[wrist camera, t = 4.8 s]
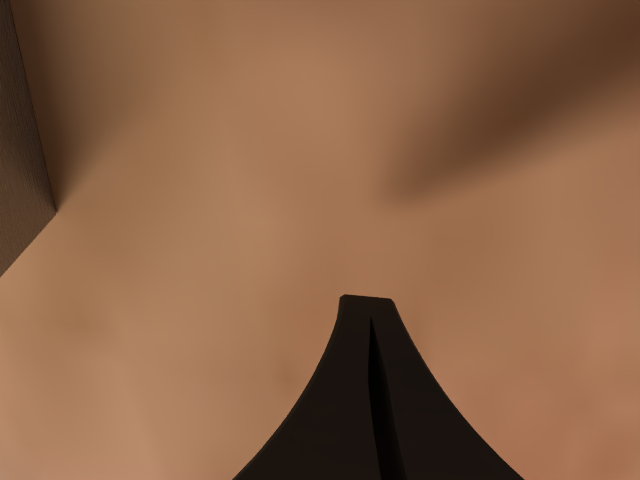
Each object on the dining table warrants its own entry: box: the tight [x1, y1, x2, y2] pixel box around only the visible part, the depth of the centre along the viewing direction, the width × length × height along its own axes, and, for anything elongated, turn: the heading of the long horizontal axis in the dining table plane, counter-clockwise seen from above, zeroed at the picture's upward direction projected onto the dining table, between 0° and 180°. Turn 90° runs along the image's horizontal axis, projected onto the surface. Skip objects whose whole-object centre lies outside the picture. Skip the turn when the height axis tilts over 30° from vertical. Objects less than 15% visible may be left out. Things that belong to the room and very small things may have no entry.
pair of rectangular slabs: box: [0, 0, 56, 277], centre depth 12 cm, size 22×12×4 cm, turn 85°
